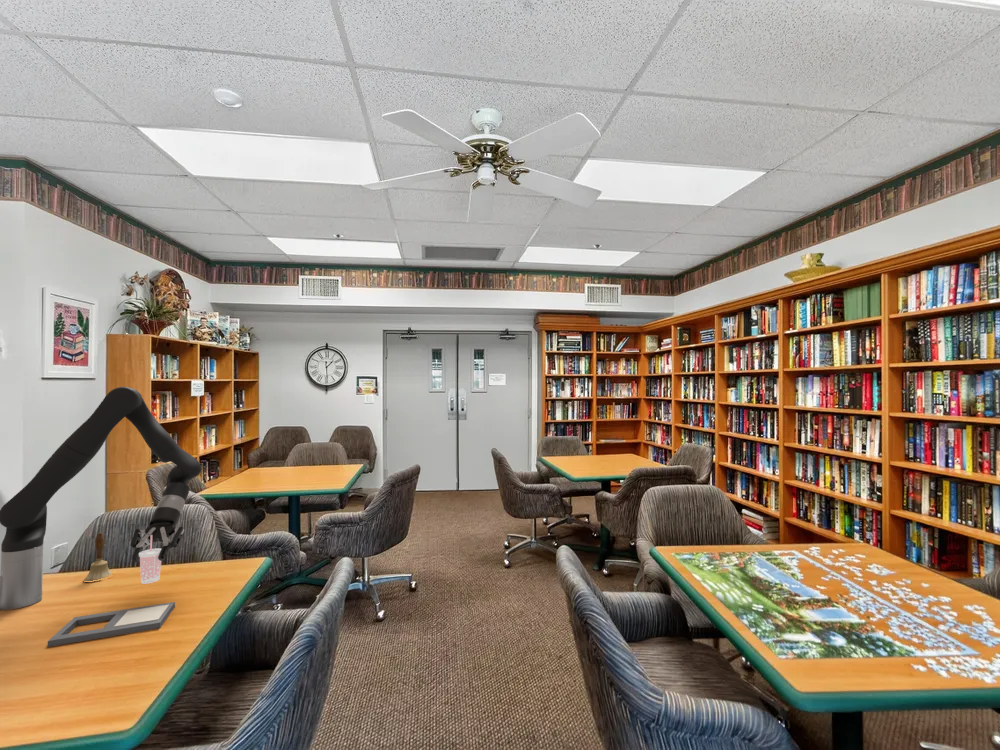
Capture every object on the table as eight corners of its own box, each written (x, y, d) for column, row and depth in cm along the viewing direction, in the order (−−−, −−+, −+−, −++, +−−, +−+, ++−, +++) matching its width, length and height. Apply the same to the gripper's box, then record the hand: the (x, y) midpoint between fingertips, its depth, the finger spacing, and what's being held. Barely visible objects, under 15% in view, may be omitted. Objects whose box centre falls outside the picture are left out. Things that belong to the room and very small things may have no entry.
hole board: (47, 647, 118) (47, 640, 118) (74, 622, 131) (74, 616, 131) (160, 628, 127) (160, 621, 127) (174, 606, 140) (174, 601, 140)
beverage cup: (158, 575, 148) (159, 531, 149) (165, 579, 145) (166, 534, 145) (134, 581, 143) (135, 535, 144) (142, 586, 140) (143, 539, 140)
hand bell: (119, 574, 168) (120, 530, 168) (95, 583, 160) (96, 536, 160) (102, 573, 169) (102, 528, 170) (76, 582, 161) (77, 535, 162)
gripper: (139, 507, 151) (116, 556, 139) (188, 504, 154) (170, 552, 142) (148, 519, 156) (126, 567, 144) (195, 516, 159) (177, 564, 146)
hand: (148, 560), depth 143 cm, fingers closed on beverage cup, 6 cm apart
